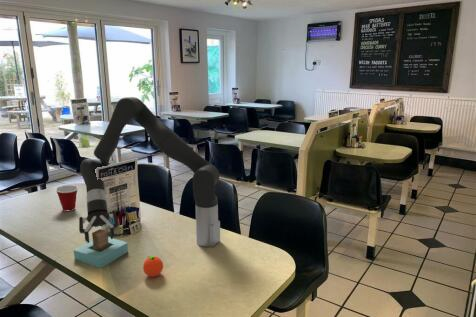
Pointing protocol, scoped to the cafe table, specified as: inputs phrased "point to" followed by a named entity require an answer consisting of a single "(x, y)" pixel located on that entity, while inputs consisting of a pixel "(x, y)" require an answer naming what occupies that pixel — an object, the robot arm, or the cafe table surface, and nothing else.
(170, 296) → the cafe table surface
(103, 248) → the peg
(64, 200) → the plastic cup
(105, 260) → the socket block
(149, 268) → the clementine
